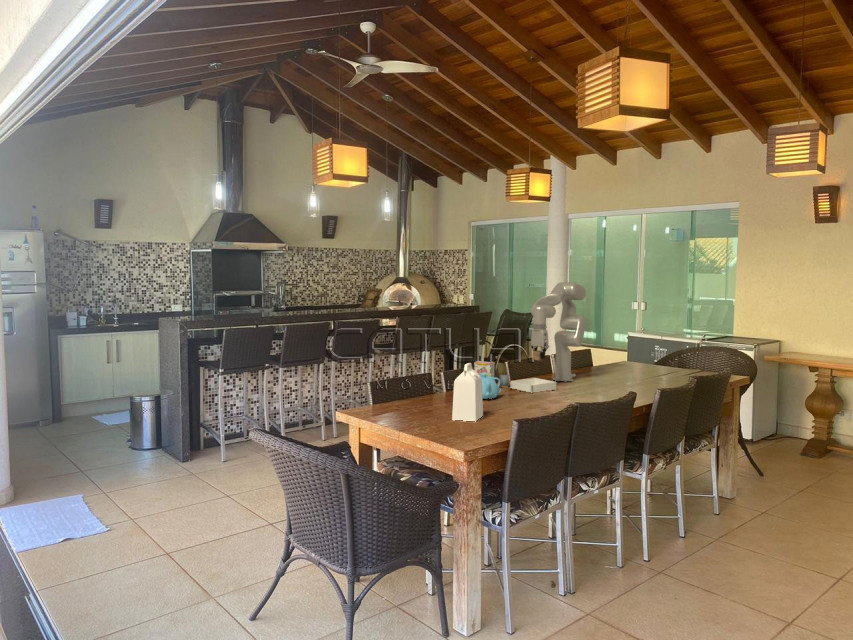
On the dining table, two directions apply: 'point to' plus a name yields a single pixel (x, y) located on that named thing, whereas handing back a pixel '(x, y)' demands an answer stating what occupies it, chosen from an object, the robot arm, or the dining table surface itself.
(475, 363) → the candy bar box
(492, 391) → the decorative pot
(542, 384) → the tote
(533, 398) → the dining table surface
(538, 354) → the walnut cube
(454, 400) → the milk
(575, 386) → the dining table surface
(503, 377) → the slate capsule
